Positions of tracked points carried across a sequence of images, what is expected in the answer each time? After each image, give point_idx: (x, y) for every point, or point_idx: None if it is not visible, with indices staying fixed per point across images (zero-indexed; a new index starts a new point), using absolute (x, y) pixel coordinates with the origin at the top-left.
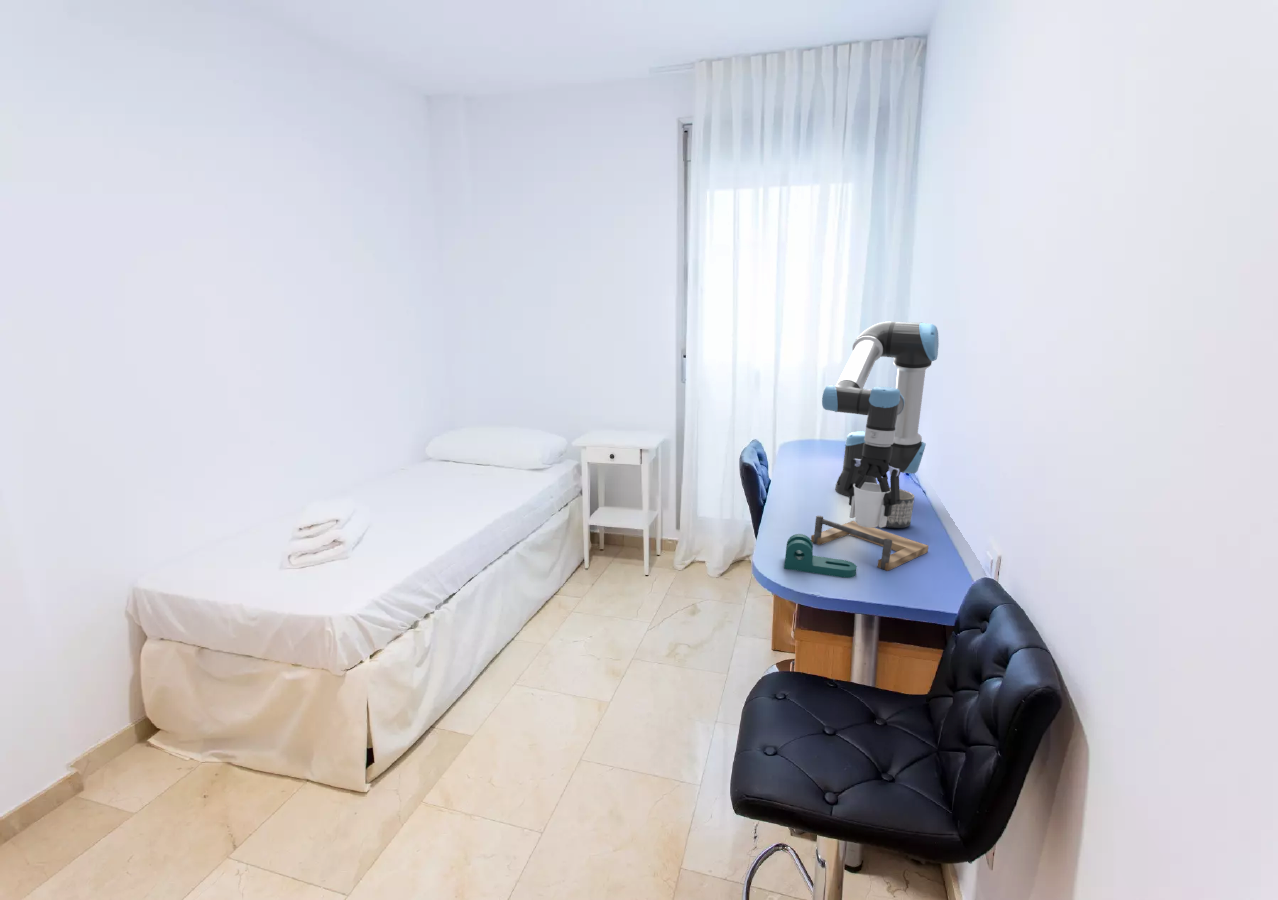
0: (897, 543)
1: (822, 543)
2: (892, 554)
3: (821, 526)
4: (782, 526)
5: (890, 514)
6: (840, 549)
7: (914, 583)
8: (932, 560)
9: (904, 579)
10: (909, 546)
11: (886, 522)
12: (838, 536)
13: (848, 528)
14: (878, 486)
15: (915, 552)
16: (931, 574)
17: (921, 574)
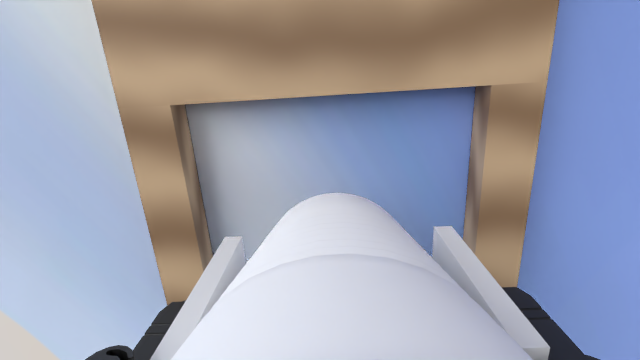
0: (436, 73)
1: None
2: (482, 218)
3: None
4: (8, 273)
5: (530, 299)
6: None
7: (603, 298)
8: (594, 33)
9: (566, 299)
10: (497, 54)
11: (460, 237)
12: (196, 187)
13: None
14: (301, 353)
15: (542, 92)
16: (631, 184)
17: (600, 216)
